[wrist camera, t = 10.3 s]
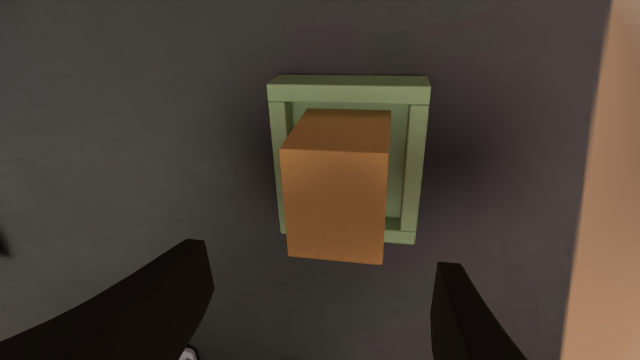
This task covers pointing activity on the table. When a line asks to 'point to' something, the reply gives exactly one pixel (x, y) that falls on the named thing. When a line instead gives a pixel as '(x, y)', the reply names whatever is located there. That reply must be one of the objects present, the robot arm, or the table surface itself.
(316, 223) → the brown rectangular block
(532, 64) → the table surface
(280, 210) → the open green tray
